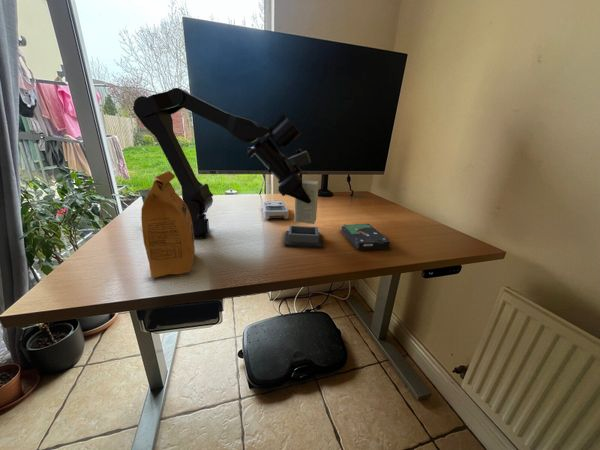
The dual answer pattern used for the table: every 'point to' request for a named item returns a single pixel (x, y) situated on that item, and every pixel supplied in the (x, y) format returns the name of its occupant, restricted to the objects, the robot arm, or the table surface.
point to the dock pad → (303, 237)
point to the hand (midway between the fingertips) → (309, 200)
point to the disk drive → (365, 237)
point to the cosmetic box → (305, 210)
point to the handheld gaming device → (275, 210)
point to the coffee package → (167, 229)
